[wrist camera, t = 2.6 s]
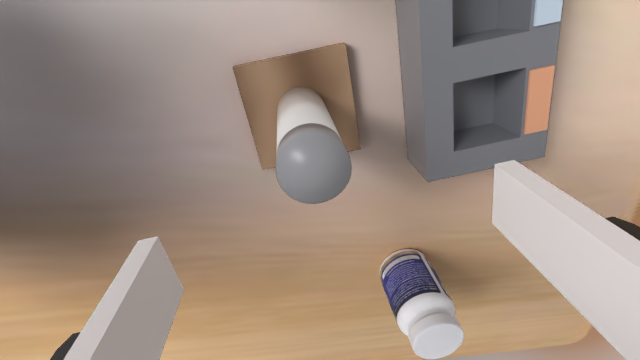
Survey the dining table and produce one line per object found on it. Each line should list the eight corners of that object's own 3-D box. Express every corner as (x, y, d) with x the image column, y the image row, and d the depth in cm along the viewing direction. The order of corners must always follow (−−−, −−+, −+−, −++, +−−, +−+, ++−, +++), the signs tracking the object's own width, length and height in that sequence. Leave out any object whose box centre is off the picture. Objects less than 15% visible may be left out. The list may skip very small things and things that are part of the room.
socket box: (407, 158, 33) (428, 183, 28) (390, -66, 25) (415, -83, 20) (510, 136, 33) (548, 157, 29) (527, -94, 25) (583, -118, 20)
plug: (283, 138, 30) (285, 210, 19) (271, 92, 28) (267, 144, 17) (328, 128, 30) (356, 195, 19) (320, 82, 28) (345, 127, 17)
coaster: (263, 165, 32) (262, 170, 31) (234, 65, 28) (232, 67, 27) (358, 144, 32) (360, 148, 31) (343, 42, 28) (345, 43, 27)
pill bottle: (368, 277, 39) (394, 356, 30) (395, 239, 37) (431, 312, 28) (409, 291, 41) (445, 369, 32) (437, 256, 39) (483, 329, 30)
